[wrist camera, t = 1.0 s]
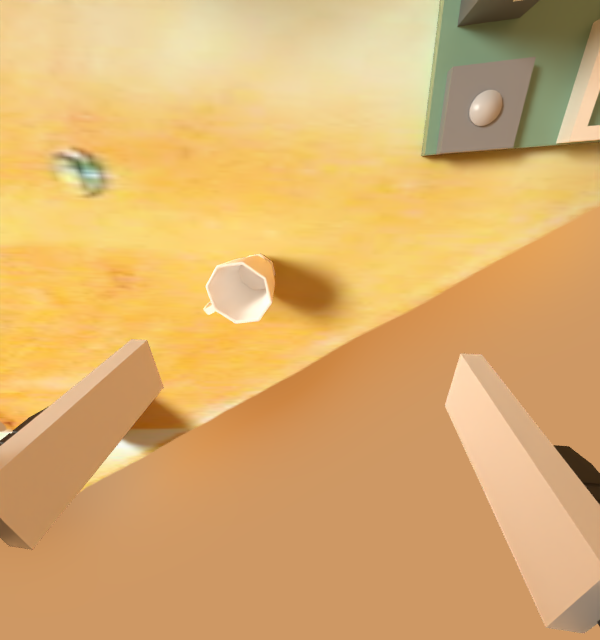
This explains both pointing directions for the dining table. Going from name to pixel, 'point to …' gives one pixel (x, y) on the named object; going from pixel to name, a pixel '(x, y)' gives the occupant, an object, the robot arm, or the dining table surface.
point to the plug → (492, 10)
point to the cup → (242, 288)
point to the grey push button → (483, 105)
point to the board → (515, 43)
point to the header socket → (584, 95)
